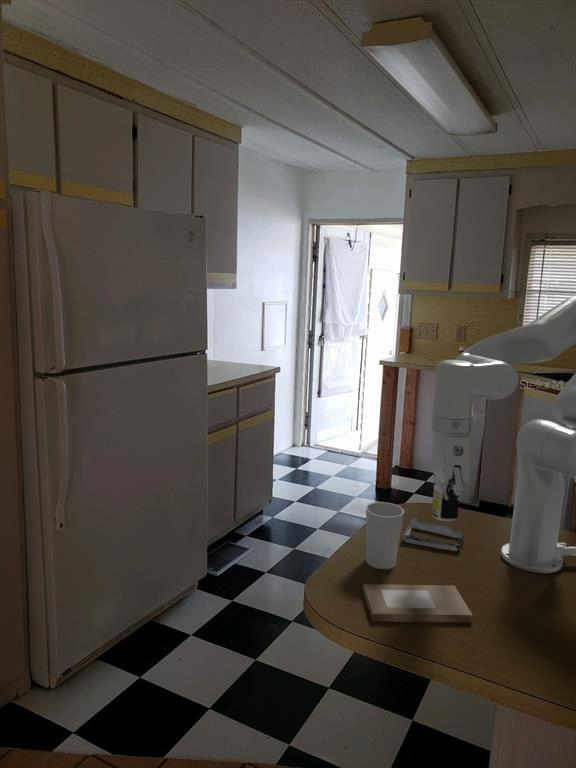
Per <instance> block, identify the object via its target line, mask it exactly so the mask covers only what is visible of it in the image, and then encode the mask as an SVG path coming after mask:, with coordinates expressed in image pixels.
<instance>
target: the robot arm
mask: <svg viewBox="0 0 576 768" xmlns="http://www.w3.org/2000/svg"><path fill="white" fill-rule="evenodd" d="M575 344H576V295H573V296H570V297H567V298H566V299H564V300H563V301H561V302H560V303H558V304H557V305H556V306H554V307H551V308H550V309H549V310H547V311H546V312H544V313H543V314H542V315H540V316H539V317H537V318H536V319H534V320H532V321H531V322H529V323H527V324H526V325H523V326H520V327H516V328H512V329H510V330H507V331H504V332H500V333H497V334H494V335H492V336H488V337H486V338H484V339H482V340H480V341H478V342H476V343H474V344H472V346H470V347H468V348H467V349H465V350H464V351H463V352H461V353H459V354H458V355H457V356H456V358H454V359H445V360H440V361H439V362H438V364H437V365H436V369H435V377H434V378H435V379H434V389H433V390H434V393H433V404H432V417H431V428H430V429H431V431H432V432H433V441H432V448H431V461H430V463H431V464H430V468H431V471H432V473H433V476H434V480H433V487H434V486H435V485H436V484H437V483H436V479H437V477H438V479H439V480H440V481H441V482H442V483H443V484H444V498H442V505H441V518H443V519H455V520H456V519H457V518H458V517H459V516H458V514H459V507H460V506H459V504H460V499H461V495H462V493H463V492H464V491H463V490H464V489H463V486H468V485H469V484H470V483H469V482H470V473H471V471H470V469H471V467H470V466H471V442H470V441H471V439H470V435H471V434H472V430H473V417H474V405H475V400H476V399H487V400H502V399H505V398H507V397H509V396H511V395H512V394H513V393H514V392H515V391H516V389H517V388H518V384H519V374H518V372H517V370H516V369H515V368H514V366H515V365H525V364H526V365H527V364H537V363H542V362H543V363H544V362H547V361H548V362H549V361H551V360H553V359H555V358H556V357H557V356H559V355H561V354H562V353H563V352H565V351H566V350H567V349H569V348H571V347H572V346H573V345H575ZM512 365H513V366H512ZM551 405H552V406H551V413H552V415H553V417H554V418H555V419H556V421H558V422H556V421H553V420H552V421H551V420H547V419H540V418H539V419H531V420H529V421H528V422H526V423H525V424H523V426H521V428H520V429H519V431H518V433H517V438H516V453H517V454H516V455H517V462H518V463H517V467H518V468H517V478H516V479H517V481H516V488H515V496H514V504H513V511H512V512H513V513H512V519H511V529H510V536H509V542H508V543H505V544H503V545H502V546H501V548H500V549H501V552H500V555H501V557H502V559H503V560H504V561H505V562H507V563H508V564H509V565H511V566H513V567H515V568H518V569H520V570H523V571H527V572H530V573H531V572H532V573H538V574H552V573H555V572H558V571H560V570H561V569H562V568H563V564H564V563H563V559H562V558H563V557H565V556H573V557H574V556H575V557H576V546H567V543H566V542H558V539H559V532H560V527H561V526H560V525H561V518H562V511H563V510H562V509H563V502H564V497H565V485H566V484H565V479H564V476H568V477H569V478H573V479H576V372H575V373H574V374H573V376H572V377H571V378H570V379H569V381H567V383H566V384H565V385H564V387H563V388H562V389H561V390H560V391H559V392H558V394H557V396H556V397H555V399H554V400H553V402H552V404H551ZM559 422H560V423H559ZM561 423H562V424H561ZM563 475H564V476H563ZM449 481H453V483H449ZM448 487H453V489H451V490H450V491H449V492H448ZM433 492H434V489H433V491H432V493H433ZM431 505H432V506H433V502H432V504H431Z"/></svg>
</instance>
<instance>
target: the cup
mask: <svg viewBox="0 0 576 768" xmlns="http://www.w3.org/2000/svg"><path fill="white" fill-rule="evenodd" d="M404 515H405V510H404V509H403V508H402V507H401V506H400V505H397V504H395V503H392V502H391V503H390V502H385V501H376V502H371V503H369V504H367V505H366V506H365V519H366V521H365V523H366V527H365V528H366V530H365V532H366V537H365V538H366V559H365V560H366V563H367V565H369V566H370V567H373V568H374V569H378V570H379V569H380V570H381V569H382V570H390V569H393V568H394V567H395V566H396V565H397V558H398V557H397V555H398V552H399V551H398V550H399V545H400V537H401V532H402V528H403V527H402V526H403V521H404Z"/></svg>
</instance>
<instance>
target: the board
mask: <svg viewBox="0 0 576 768" xmlns="http://www.w3.org/2000/svg"><path fill="white" fill-rule="evenodd" d="M362 586H363V587H362V593H363V596H364V599H365V602H366V605H367V608H368V611H369V615H370V618H371V620H372V622H381V623H383V622H385V623H386V622H390V623H391V622H394V623H395V622H396V623H398V622H399V623H401V622H402V623H407V622H408V623H466V624H467V623H469V624H471V623H473V613H472V611H471V610H470V608H469V606H468V605H467V602H465V600H464V599H463V596H462V595H461V594H460V592H459V591H458V589H457V588H456V585H450V584H449V585H448V584H447V585H442V584H440V585H439V584H438V585H436V584H435V585H432V584H386V583H385V584H377V583H376V584H373V583H371V584H369V583H365V584H364V583H363V585H362Z"/></svg>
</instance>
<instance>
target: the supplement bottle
mask: <svg viewBox="0 0 576 768" xmlns="http://www.w3.org/2000/svg"><path fill="white" fill-rule="evenodd" d="M436 483H437V484H436V485H435V486H434V485H433V490H434V492H433V491H432V495H433V496H432V503H433V505H432V507H431V509H432V511H431V516H432V517H433V518H434V519H435V520H437V521H442V522H454V521H455V520H456V519H443V518H441V505H442V498H444V484H443V483H442V482H441V481H440V480H439V479H438V477H437V479H436ZM449 483H453V481H449ZM451 489H453V487H448V492H449V491H450V490H451Z"/></svg>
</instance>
